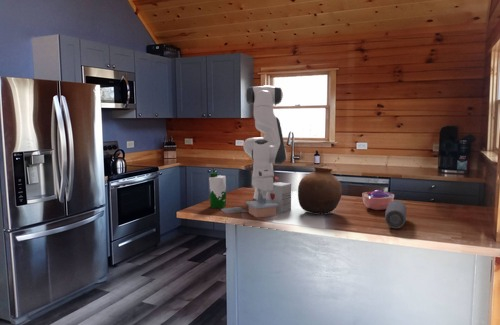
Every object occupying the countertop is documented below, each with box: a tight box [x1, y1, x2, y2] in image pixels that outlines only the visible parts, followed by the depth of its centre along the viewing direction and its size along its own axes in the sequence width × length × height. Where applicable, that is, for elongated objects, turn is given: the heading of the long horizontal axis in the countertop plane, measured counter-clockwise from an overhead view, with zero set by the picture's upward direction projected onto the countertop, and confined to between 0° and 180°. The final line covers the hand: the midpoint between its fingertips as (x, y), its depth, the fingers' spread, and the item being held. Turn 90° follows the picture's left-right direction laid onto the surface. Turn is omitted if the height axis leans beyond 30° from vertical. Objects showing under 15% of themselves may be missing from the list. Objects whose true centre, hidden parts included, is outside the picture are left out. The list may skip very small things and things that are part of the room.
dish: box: [248, 205, 277, 219], centre depth 202 cm, size 11×11×5 cm
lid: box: [245, 195, 279, 209], centre depth 201 cm, size 13×13×5 cm
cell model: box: [361, 189, 395, 211], centre depth 210 cm, size 17×20×11 cm
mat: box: [219, 206, 248, 214], centre depth 212 cm, size 12×12×1 cm
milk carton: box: [208, 172, 227, 209], centre depth 220 cm, size 9×9×20 cm
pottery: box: [297, 166, 343, 215], centre depth 202 cm, size 23×23×25 cm
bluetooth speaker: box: [384, 199, 408, 229], centre depth 180 cm, size 23×9×10 cm, turn 157°
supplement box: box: [269, 181, 292, 214], centre depth 210 cm, size 9×9×15 cm
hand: (261, 197), depth 201 cm, fingers open, 4 cm apart
